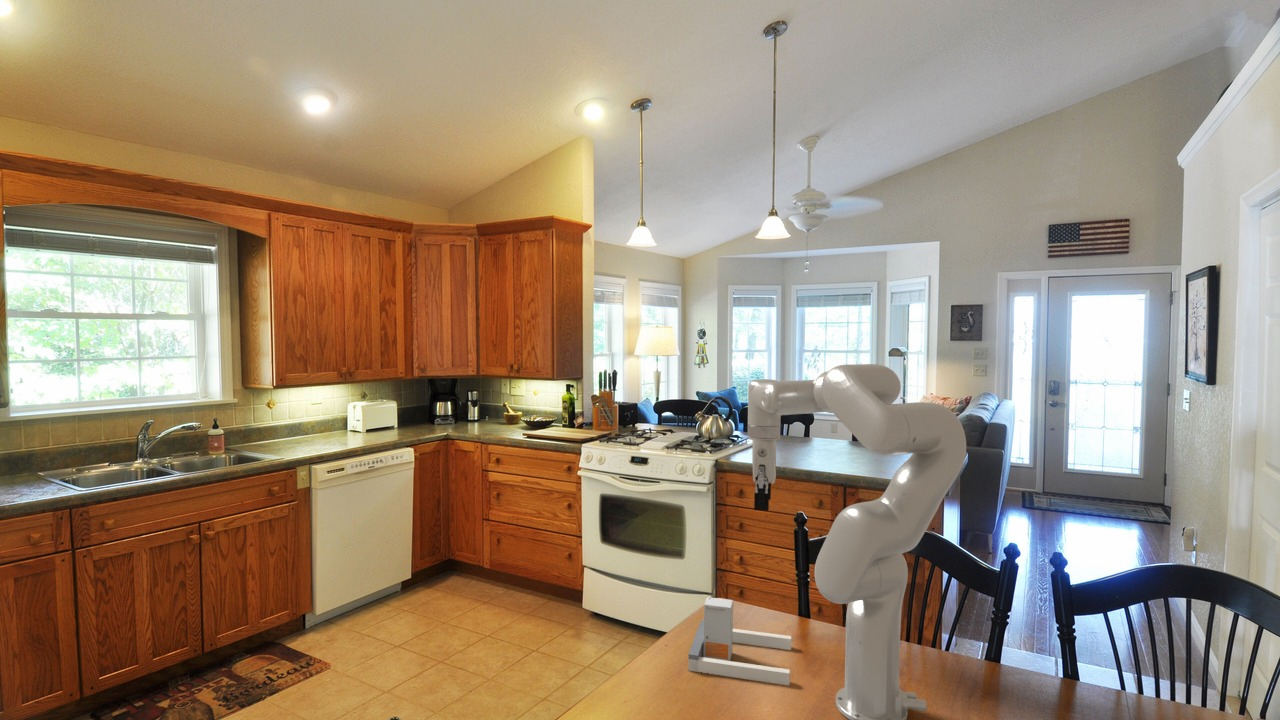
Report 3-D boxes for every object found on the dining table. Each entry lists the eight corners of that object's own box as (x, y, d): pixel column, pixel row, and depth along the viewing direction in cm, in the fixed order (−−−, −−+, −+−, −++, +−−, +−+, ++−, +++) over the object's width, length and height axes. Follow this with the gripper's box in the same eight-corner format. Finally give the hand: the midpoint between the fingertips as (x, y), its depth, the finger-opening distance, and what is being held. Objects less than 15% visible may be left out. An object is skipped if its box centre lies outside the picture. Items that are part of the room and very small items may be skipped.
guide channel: (791, 646, 140) (791, 631, 140) (789, 685, 124) (789, 668, 124) (700, 634, 145) (701, 620, 145) (688, 670, 130) (688, 654, 129)
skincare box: (702, 658, 135) (703, 604, 134) (705, 648, 139) (706, 596, 138) (730, 662, 133) (731, 607, 132) (732, 652, 137) (733, 599, 137)
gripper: (779, 439, 136) (777, 516, 137) (781, 427, 153) (780, 496, 153) (744, 437, 138) (743, 513, 139) (750, 426, 155) (749, 494, 155)
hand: (762, 504), depth 146 cm, fingers open, 9 cm apart
